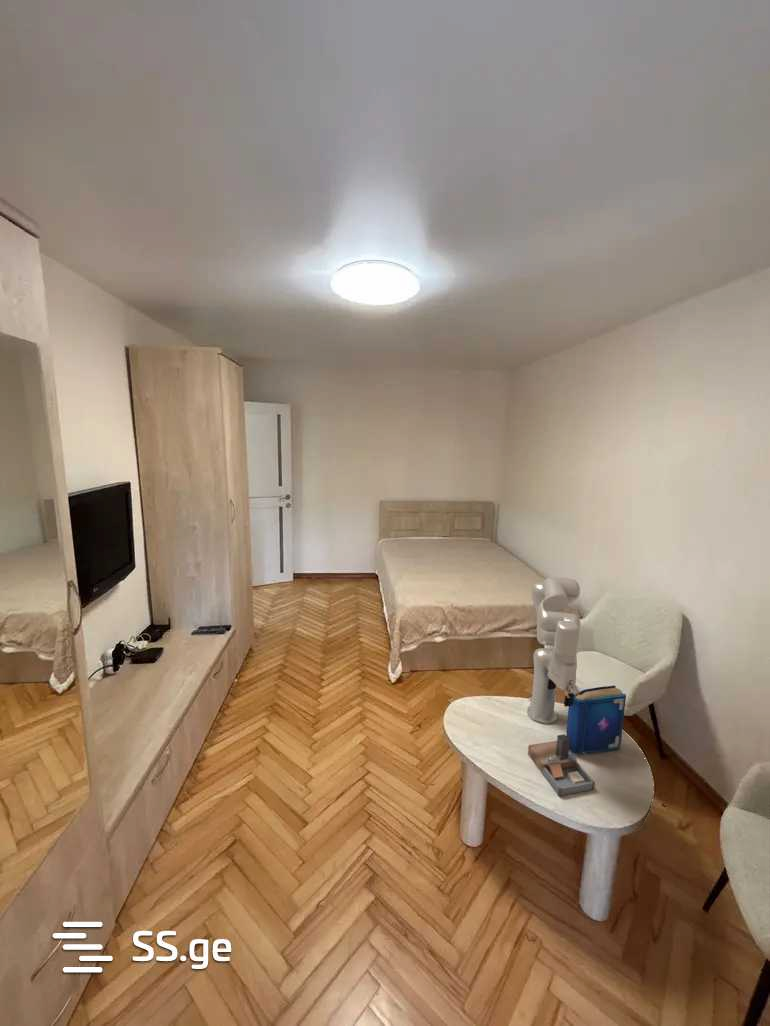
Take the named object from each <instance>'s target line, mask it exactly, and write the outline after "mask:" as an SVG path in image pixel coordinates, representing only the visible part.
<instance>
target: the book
mask: <svg viewBox="0 0 770 1026" xmlns="http://www.w3.org/2000/svg"><path fill="white" fill-rule="evenodd" d="M569 694H571V692H569ZM626 699H627V694H626V693H623V691H622V690H621V689H620V688H617V686H616V685H608V686H607V685H606V686H598V687H592V688H586V689H582V690H581V691H580V690H579V694H578V695H577V696H576V697H574V699H573V705H572V706H568V709H567V711H568V712H567V720H566V721H567V722H566V724H567V725H566V734H565V735H566V736H567V737H568V738H569V740H570V744H569V751H570V752H571V753H572V754H573V753H575V754H576V755H581V754H589V755H591V754H597V753H599V754H601V753H606V752H611V751H616V750H620V749H621V744H622V735H623V727H624V726H623V725H624V718H625V708H626V702H627V701H626Z"/></svg>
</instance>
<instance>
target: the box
mask: <svg viewBox="0 0 770 1026" xmlns="http://www.w3.org/2000/svg"><path fill="white" fill-rule="evenodd" d="M576 771H577V772H578V773H579V774H580V775H581V776H582V777H583V779H584V780H585V781H584V783H579V784H573V783H572V782H571V781H570V779H569V778H568V777H567V775H568V773H570V772H576ZM562 772H563V777H557V778H553V776H552V775H551V773H550V772H549V771H548V770H547V769H546V767H543V774H542V775H543V777H544V778H545V780H546V781H547V782H548V784H549V785H550V787H552V789H553V791H554V792H555V794H556V795H557V796H558V797H565V796H569V795H575V794H580V793H587V792H590V791H595V786H596V785H595V784H596V782H595V780H593V778H592V777H591V776H590V775H589V774H588V773H587V771H585V769H584V768H583V767H582V766H581V765H580V763H578V762H577V761H575V763H574V767H573V768H568V769H562Z"/></svg>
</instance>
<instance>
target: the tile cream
mask: <svg viewBox="0 0 770 1026" xmlns="http://www.w3.org/2000/svg"><path fill="white" fill-rule="evenodd" d="M567 777H568V778H569V779H570V781H571V782H572V783H573V784H579V783H584V781H585V780H584V779H583V777H582V776H581V775H580V774H579V773H578V772H577V771H576V772H570V773H568V775H567Z"/></svg>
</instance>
